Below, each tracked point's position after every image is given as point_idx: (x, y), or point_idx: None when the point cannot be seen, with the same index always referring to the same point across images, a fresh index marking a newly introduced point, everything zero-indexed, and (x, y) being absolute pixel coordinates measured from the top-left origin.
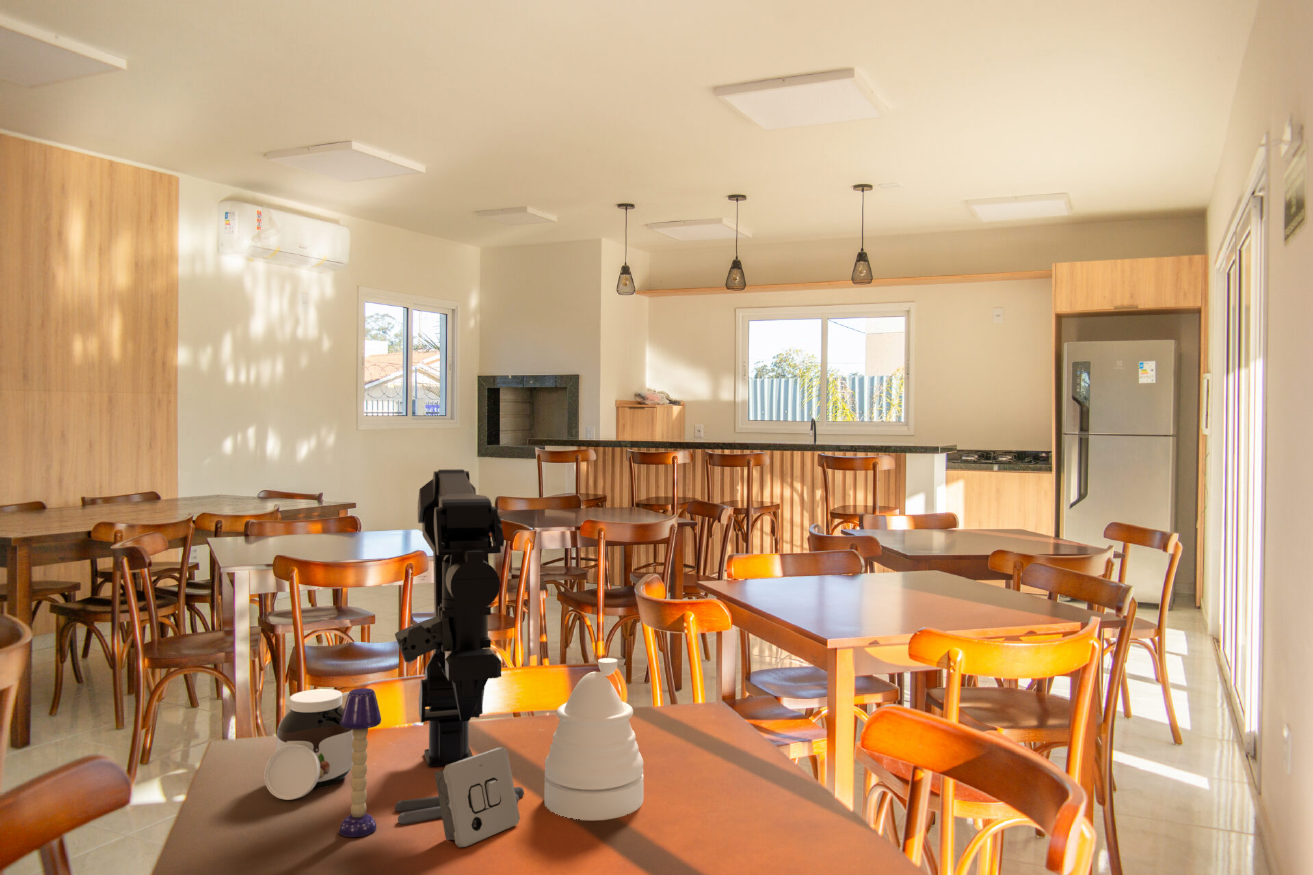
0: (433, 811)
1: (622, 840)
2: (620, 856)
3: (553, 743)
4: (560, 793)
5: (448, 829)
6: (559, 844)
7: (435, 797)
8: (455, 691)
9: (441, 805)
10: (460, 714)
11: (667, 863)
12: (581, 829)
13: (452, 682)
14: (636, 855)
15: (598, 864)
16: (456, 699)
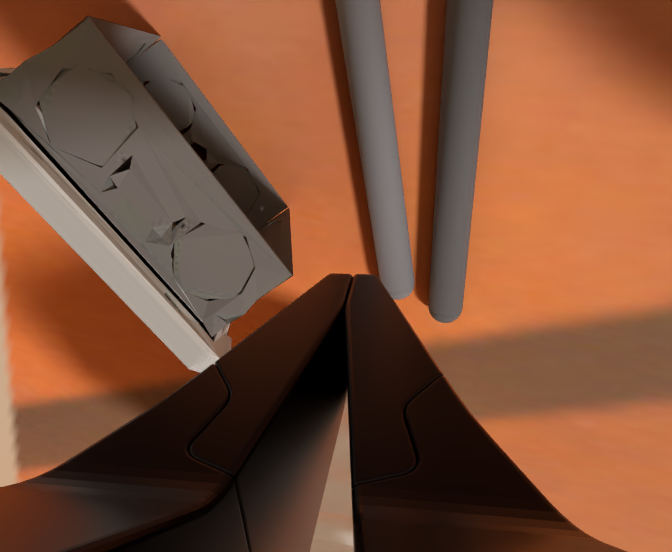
0: (340, 7)
1: (120, 420)
2: (48, 396)
3: (329, 506)
4: None
5: (136, 49)
6: (107, 315)
7: (466, 26)
8: (260, 397)
9: (125, 34)
10: (306, 294)
11: (22, 446)
12: (184, 374)
13: (482, 453)
14: (53, 419)
15: (12, 355)
16: (348, 344)
